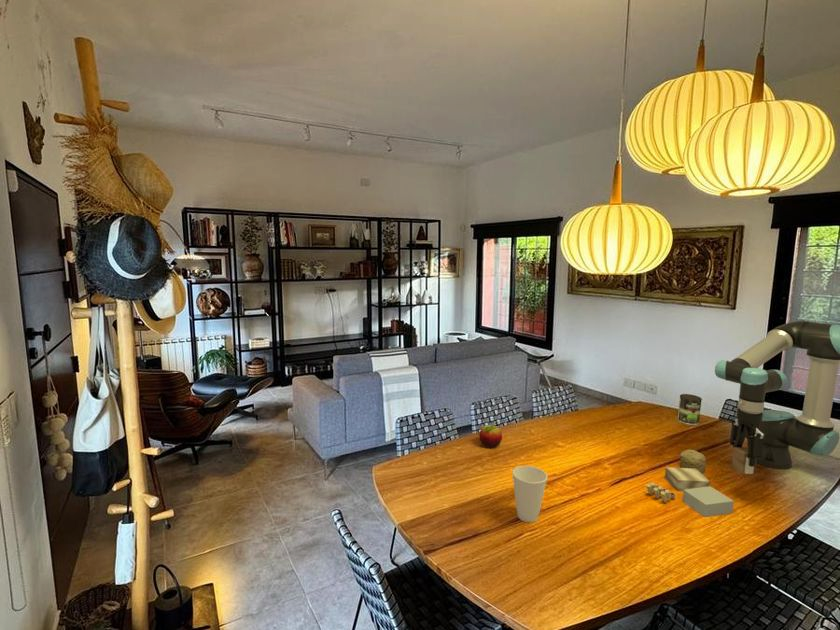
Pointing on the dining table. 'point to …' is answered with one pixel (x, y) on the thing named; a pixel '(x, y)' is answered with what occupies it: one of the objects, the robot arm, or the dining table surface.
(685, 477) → the pale oak block
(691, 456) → the coral
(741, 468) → the walnut block
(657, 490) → the ammunition
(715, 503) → the grey painted block
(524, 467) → the cup
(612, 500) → the dining table surface
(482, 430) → the fruit
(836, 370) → the robot arm
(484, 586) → the dining table surface
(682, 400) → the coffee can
